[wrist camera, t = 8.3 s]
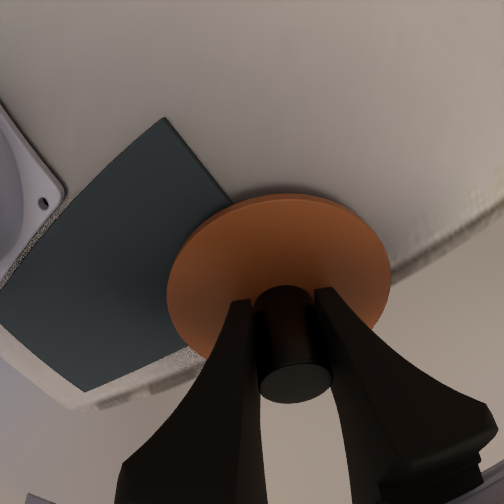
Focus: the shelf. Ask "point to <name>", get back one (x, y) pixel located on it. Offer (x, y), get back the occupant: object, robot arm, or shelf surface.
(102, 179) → the felt mat
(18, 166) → the robot arm
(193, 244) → the lid
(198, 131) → the shelf surface
